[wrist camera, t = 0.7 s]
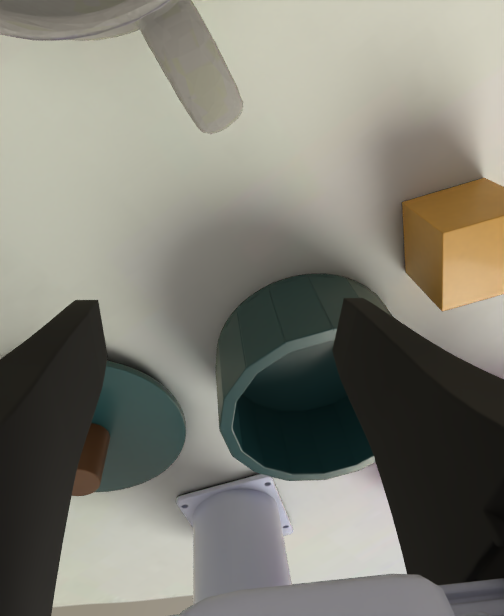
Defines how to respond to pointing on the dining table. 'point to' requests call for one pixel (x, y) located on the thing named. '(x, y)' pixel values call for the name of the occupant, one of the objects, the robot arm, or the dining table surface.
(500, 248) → the block
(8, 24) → the teacup
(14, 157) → the dining table surface
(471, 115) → the dining table surface
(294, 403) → the pot
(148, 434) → the lid
